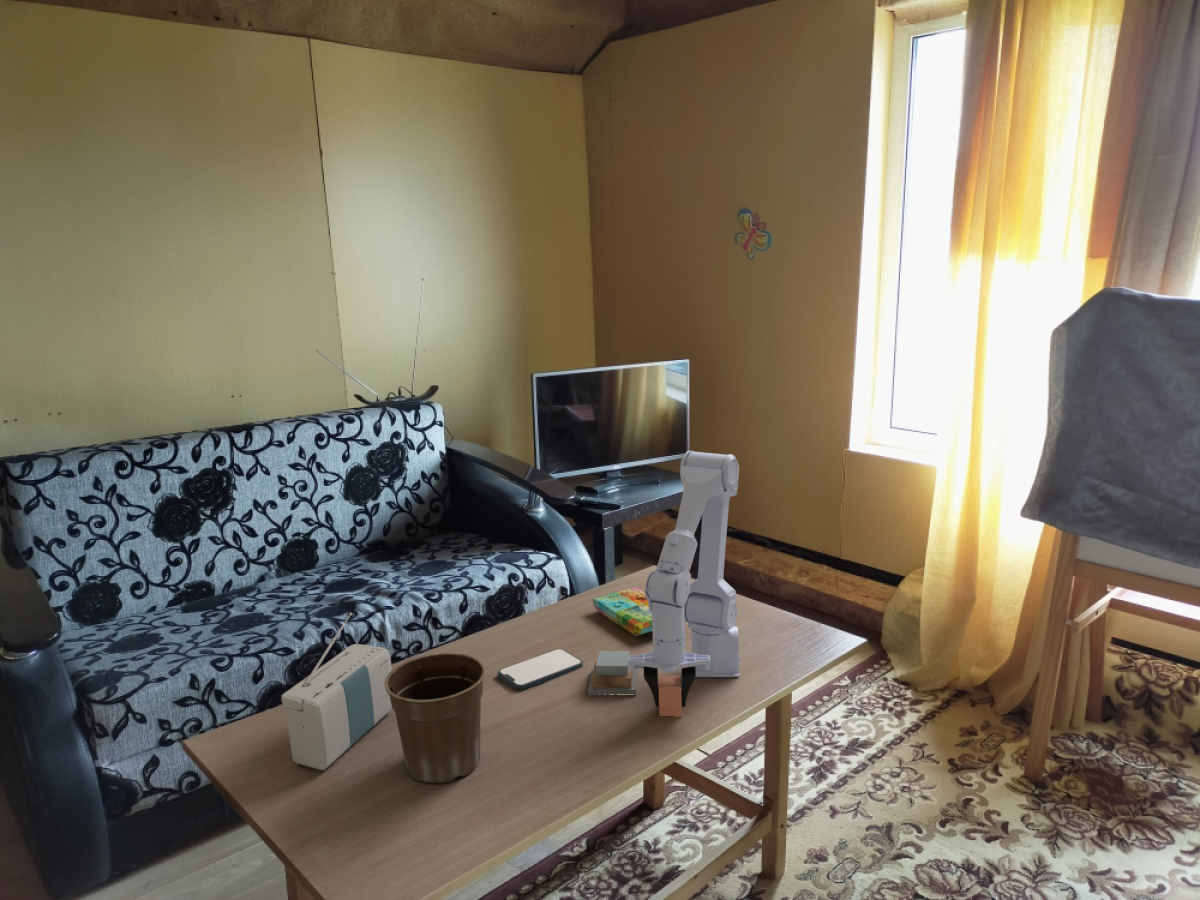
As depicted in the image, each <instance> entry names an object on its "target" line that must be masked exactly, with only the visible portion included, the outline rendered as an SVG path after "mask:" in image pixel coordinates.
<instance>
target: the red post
mask: <svg viewBox="0 0 1200 900" xmlns="http://www.w3.org/2000/svg"><path fill="white" fill-rule="evenodd" d="M658 688H659V707H658V709H659V710H658V712H659V716H683V713H682V712H683V711H682V710H683V707H682V703H681V688H682V675H658Z"/></svg>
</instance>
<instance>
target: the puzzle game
mask: <svg viewBox="0 0 1200 900" xmlns="http://www.w3.org/2000/svg"><path fill="white" fill-rule="evenodd" d="M592 604H593V606H594V607H595V609H596V610H597V611H598V612H599V613H600V614H601V615H603V616H604V617H606V618H607V619H609V620H611V622H613V623H615V624H617V626H619V627H621V628H623V629H624V630H625V631H627V632H628V633H630V634H632V635H633V636H635V637H639V636H641V635H645V634H648V633H651V632H653V631H652V612H651V611H650V609H649V603H648V600H647V599H646V596H645V590H642V589H640V588H639V587H637V586H634V587H631V588H627V589H623V590H619V591H617V592H613V593H609V594H605V595H602V596H598V597H594V598H592Z"/></svg>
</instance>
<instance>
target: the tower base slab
mask: <svg viewBox="0 0 1200 900" xmlns="http://www.w3.org/2000/svg"><path fill="white" fill-rule="evenodd" d="M593 669H594V666H591V671H590V675H589V676H590V677H589V682H588V687H587V688H588V690H587V692H588V693H587V694H588V695H599V694H600V695H604V694H606V695H609V694H614V695H617V694H634V695H636V694H637V684H636V683H637V682H638V681H637V680H638V668H635V670H633V679H632V688H598V687H592V674H593ZM588 695H587V696H588ZM636 696H637V695H636Z"/></svg>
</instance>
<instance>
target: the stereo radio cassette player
mask: <svg viewBox="0 0 1200 900" xmlns="http://www.w3.org/2000/svg"><path fill="white" fill-rule="evenodd" d="M352 615H353V612H349V614H348V616H347V618H346V619H345V621H344V622H343V624H342V625H341V627H340V628H339V629H338V631H337V633H335V636H334V637H333V639H332V640H331V642H330V643H329V644H328V646H327V648H326V649H325V651H324V652H323V654H322V656H321V657H320V659H319V661H318V662H317V663H316V665H315V666H314V668H313V670H312V671H311V673H310V674H309V675H307V676H306V677H305V678H303V679H302V680H301V681H299V682H297V684H295V685H293V687H291V688H289V689H288V690H287V691H285V692H284V693H283V694H281V703H282V706H283V708H285V714H286V721H287V728H288V736H289V743H290V749H291V755H292V761H293V762H295V763H296V764H298V765H301V766H305V767H308V768H312V769H316V770H319V771H325V770H326V769H327V768H328V767H330V766H331V764H333V763H334V762H335V761H336V760H337V759H338V758H340V757H341V756H342V755H343V754H344V753H345V752H346V751H347V750H348V749H350V747H352V746H353V745H354V744H355V743H356V742H357V741H359V739H360V738H361V739H362V737H363V736H364V735H365V734H366V733H367V732H368V731H370V730H371V729H372V728H373V727H374V726H375V725H376V724H377V723H378V722H380V721H381V720H382V719H383V718H384V717H385V716H386V715H388V714H389V713H390V711H392V710H393V708H392V705H391V700H390V696H389V694H388V693H387V691H386V689H385V685H384V682H385V679H386V677H387V675H388V674H389V673H390V672H391V671H392V670H393V668H392V662H391V655H390V652H389V649H387V648H386V647H381V646H373V645H371V644H360V643H359V644H358V643H355V644H351V645H349V646H348V647H346V648H345V649H343V651H341V652H340V653H338V654H337V655H336V656H334V657H333V658H330V660H328V661H327V662H326V663H324V664H323V665H321V664H322V662H323V660H324V659H325V658H326V656H327V655H328V653H329V651H330V650H331V648H332V646H333V645H334V644H335V641H336V640H337V638H338V636H339V635H340V633H341V631H342V630H343V628H344V627H345V625H346V623H347V622H348V621H349V618H350V617H351V616H352Z"/></svg>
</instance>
